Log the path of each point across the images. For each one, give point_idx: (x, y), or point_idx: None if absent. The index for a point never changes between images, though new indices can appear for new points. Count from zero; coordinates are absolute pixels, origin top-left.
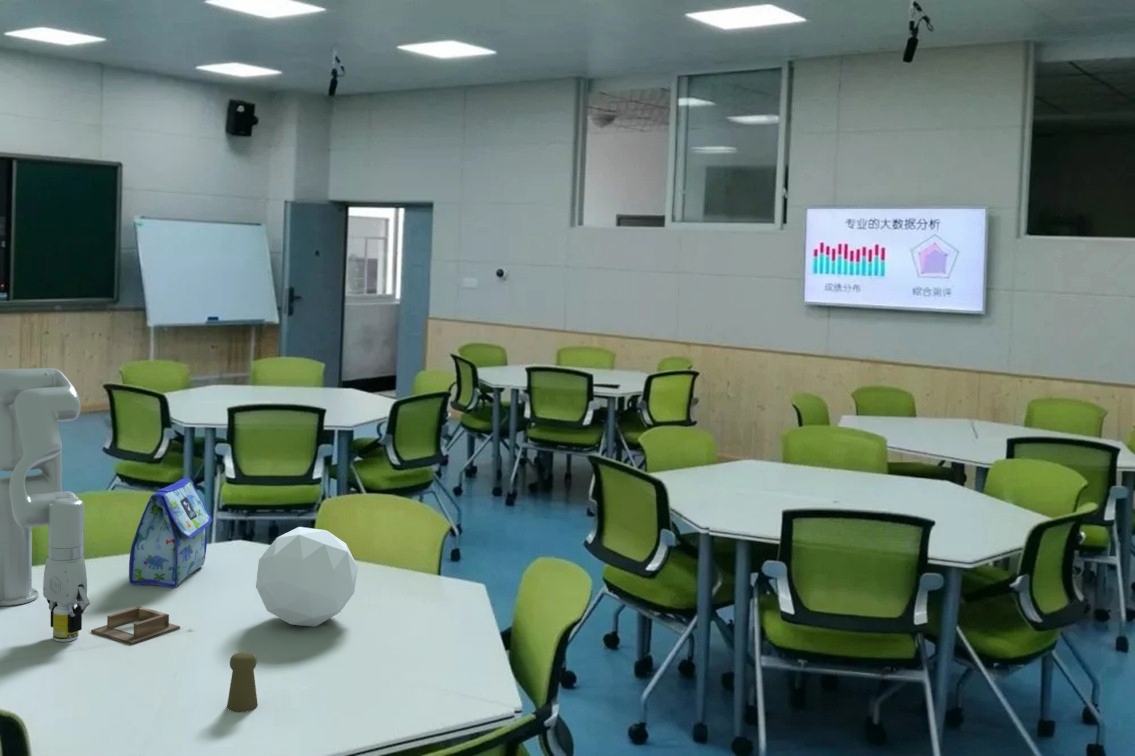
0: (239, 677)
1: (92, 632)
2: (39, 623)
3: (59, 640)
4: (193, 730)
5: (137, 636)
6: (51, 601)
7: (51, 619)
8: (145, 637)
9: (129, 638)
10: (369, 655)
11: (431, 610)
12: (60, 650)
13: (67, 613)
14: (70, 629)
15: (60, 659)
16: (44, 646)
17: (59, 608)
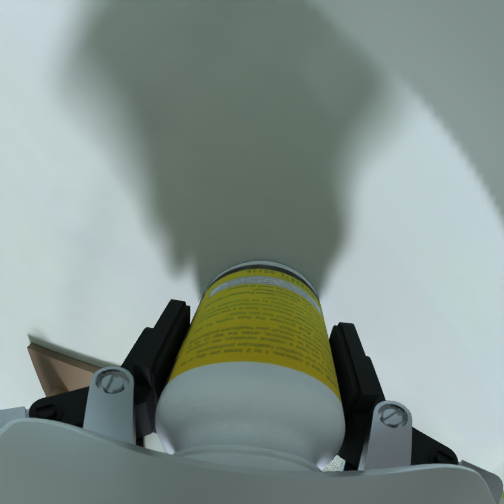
0: None
1: None
2: (466, 366)
3: (243, 264)
4: None
5: (55, 388)
6: (394, 461)
7: (355, 351)
8: (43, 388)
9: (58, 373)
10: None
11: None
12: (145, 176)
13: (166, 391)
14: (165, 312)
15: (65, 101)
16: (263, 175)
17: (246, 419)
